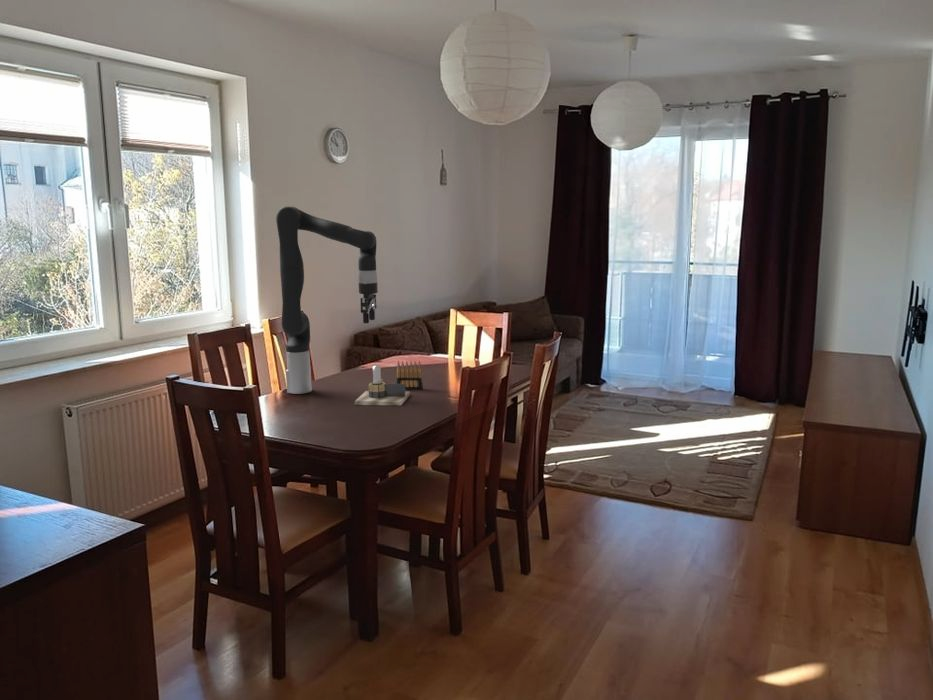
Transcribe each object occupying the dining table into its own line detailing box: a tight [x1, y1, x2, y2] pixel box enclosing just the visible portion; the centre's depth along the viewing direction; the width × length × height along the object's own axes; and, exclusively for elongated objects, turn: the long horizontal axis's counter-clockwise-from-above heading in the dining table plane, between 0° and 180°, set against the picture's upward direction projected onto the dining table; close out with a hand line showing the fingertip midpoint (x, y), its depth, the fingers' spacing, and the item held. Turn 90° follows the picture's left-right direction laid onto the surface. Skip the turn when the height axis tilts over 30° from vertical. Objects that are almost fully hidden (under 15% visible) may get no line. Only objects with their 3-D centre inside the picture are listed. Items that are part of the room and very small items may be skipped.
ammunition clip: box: [396, 360, 424, 391], centre depth 302 cm, size 11×2×12 cm, turn 84°
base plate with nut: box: [354, 378, 411, 406], centre depth 286 cm, size 18×16×6 cm
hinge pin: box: [372, 365, 382, 385], centre depth 286 cm, size 3×3×12 cm
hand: (369, 321), depth 297 cm, fingers open, 8 cm apart
